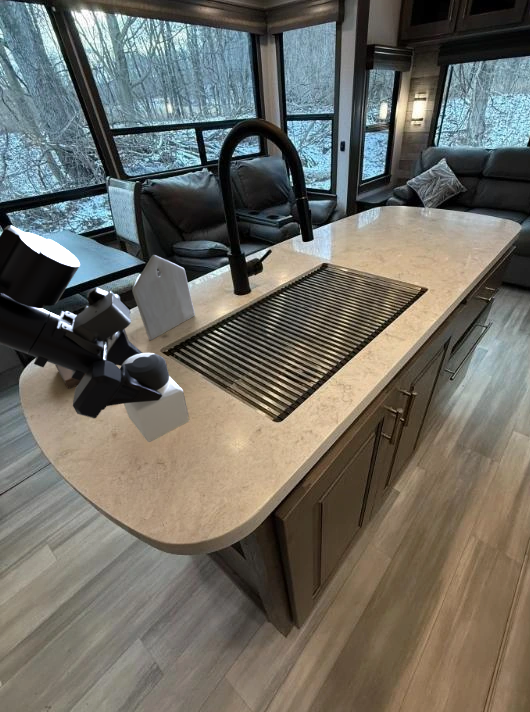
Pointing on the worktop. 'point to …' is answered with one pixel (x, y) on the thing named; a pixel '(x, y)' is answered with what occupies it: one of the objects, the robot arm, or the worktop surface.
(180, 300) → the grey house-shaped board
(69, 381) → the brown square tile
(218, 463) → the worktop surface
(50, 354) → the robot arm
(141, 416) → the medicine bottle
